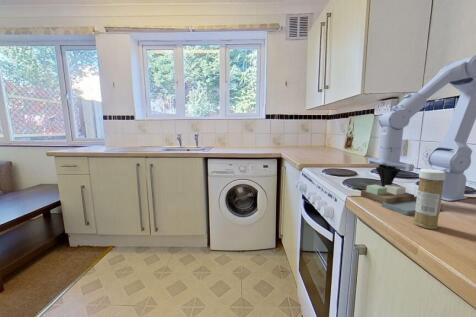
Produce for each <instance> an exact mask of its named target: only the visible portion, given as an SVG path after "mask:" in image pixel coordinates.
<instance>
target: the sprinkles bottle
mask: <svg viewBox="0 0 476 317" xmlns="http://www.w3.org/2000/svg"><path fill="white" fill-rule="evenodd" d="M418 173H419V174H418V177H419V178H418V188H417V194H416V198H417V200H416V208H415V214H414V218H413V224H414V225H416V226H418V227H421V228H422V229H429V230H435V229H438V228H439V227H438V226H439V225H438V223H439V216H440V206H441V204H442V199H441V196H442V188H443V182H444V180H445V174H446V173H445V172H444V171H440V170H434V169H432V168H420V169H419V172H418Z"/></svg>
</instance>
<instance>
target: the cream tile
mask: <svg viewBox="0 0 476 317" xmlns="http://www.w3.org/2000/svg"><path fill="white" fill-rule="evenodd" d="M385 187H386V188H387V192H389V193H392V194H395V195H398V194H405V192H406V189H407V187H405V186H401V185H398V184H393V183H392V184H391V185H385Z"/></svg>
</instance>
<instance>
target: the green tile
mask: <svg viewBox="0 0 476 317" xmlns="http://www.w3.org/2000/svg"><path fill="white" fill-rule="evenodd" d="M365 190H366V191H367V192H370V193H373V194H376V195H381V194H387V188H386V187H383V186H382V185H379V184H370V185H366V189H365Z"/></svg>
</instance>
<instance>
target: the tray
mask: <svg viewBox="0 0 476 317" xmlns="http://www.w3.org/2000/svg"><path fill="white" fill-rule="evenodd" d="M416 200H417V197H414V200H412V201H405V202H398V203H391V204H388V203H385V202H382V204H381V207H383V208H386V209H389V210H391V211H394V212H397V213H399V214H401V215H405V216H411V215H415V208H416ZM442 209H443V205H441V206H440V210H442Z"/></svg>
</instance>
